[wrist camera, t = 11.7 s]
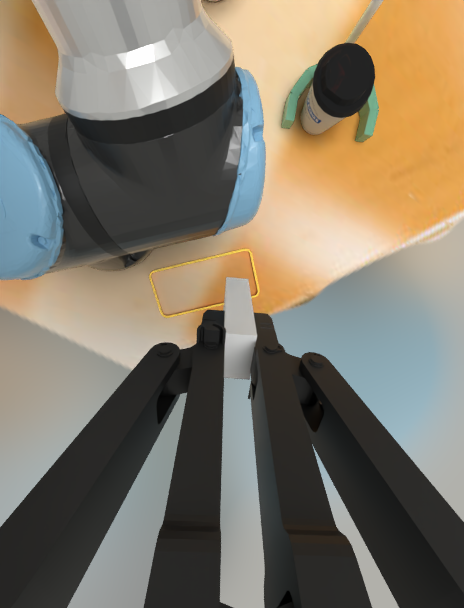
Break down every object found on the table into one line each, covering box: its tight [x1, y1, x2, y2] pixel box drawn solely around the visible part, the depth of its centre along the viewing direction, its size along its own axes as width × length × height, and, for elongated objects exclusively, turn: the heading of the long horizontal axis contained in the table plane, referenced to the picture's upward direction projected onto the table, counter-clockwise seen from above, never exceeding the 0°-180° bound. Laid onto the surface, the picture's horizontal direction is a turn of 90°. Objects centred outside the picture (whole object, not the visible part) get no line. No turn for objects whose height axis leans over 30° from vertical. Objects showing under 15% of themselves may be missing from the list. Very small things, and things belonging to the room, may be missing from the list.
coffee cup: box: [300, 43, 375, 135], centre depth 32 cm, size 7×7×10 cm
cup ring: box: [281, 64, 379, 142], centre depth 35 cm, size 12×8×2 cm, turn 82°
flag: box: [345, 0, 383, 43], centre depth 27 cm, size 6×1×17 cm, turn 82°
